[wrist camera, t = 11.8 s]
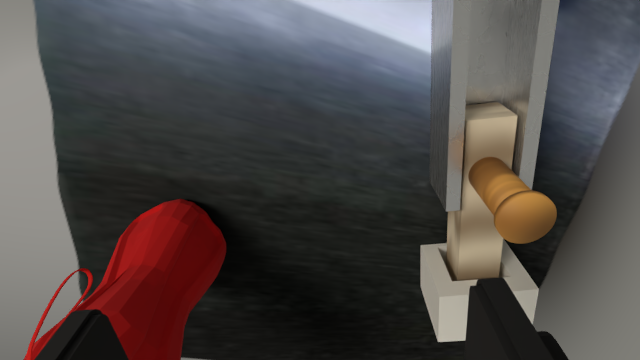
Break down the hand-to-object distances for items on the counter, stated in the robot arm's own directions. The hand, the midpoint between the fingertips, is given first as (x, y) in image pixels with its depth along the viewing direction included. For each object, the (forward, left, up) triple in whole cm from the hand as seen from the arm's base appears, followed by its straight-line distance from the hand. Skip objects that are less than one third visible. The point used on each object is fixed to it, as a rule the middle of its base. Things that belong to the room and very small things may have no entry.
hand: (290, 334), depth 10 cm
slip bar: (+13, +14, -27) cm, 33 cm away
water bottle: (+14, -17, -28) cm, 36 cm away
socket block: (+22, +14, -28) cm, 38 cm away
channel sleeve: (+2, +14, -28) cm, 32 cm away
